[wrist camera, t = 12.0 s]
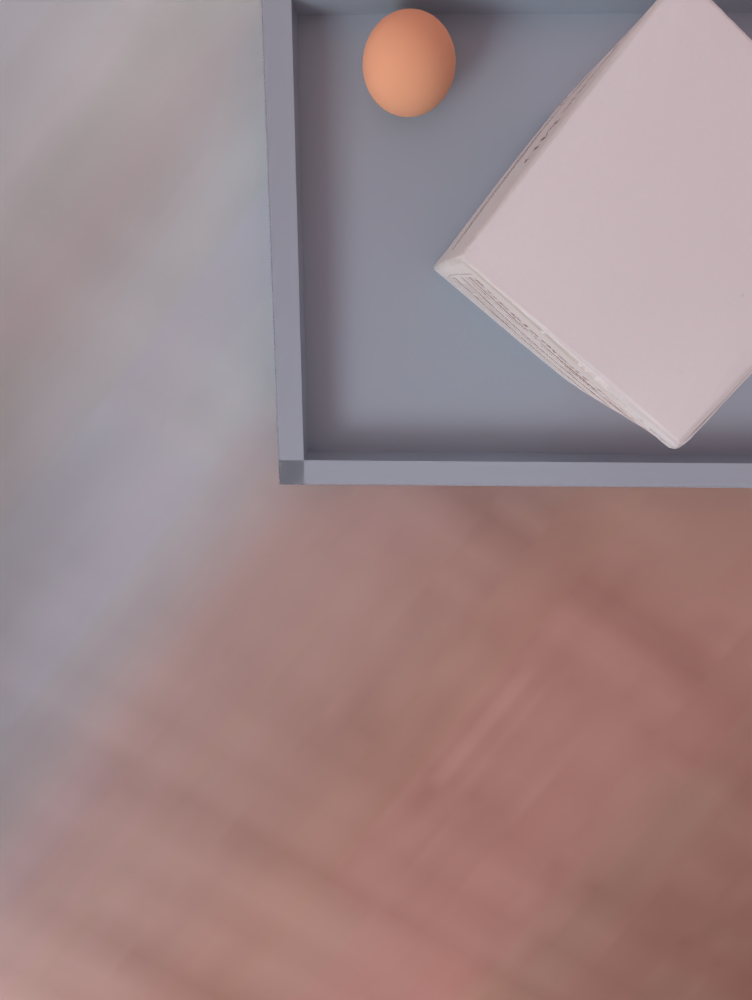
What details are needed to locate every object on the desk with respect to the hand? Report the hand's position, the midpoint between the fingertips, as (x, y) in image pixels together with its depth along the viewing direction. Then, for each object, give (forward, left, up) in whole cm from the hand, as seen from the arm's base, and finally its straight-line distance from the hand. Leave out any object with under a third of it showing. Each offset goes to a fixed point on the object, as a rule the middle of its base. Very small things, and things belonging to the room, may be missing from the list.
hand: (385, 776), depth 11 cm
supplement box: (+7, +8, -21) cm, 23 cm away
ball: (+1, +14, -21) cm, 25 cm away
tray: (+7, +8, -22) cm, 24 cm away
